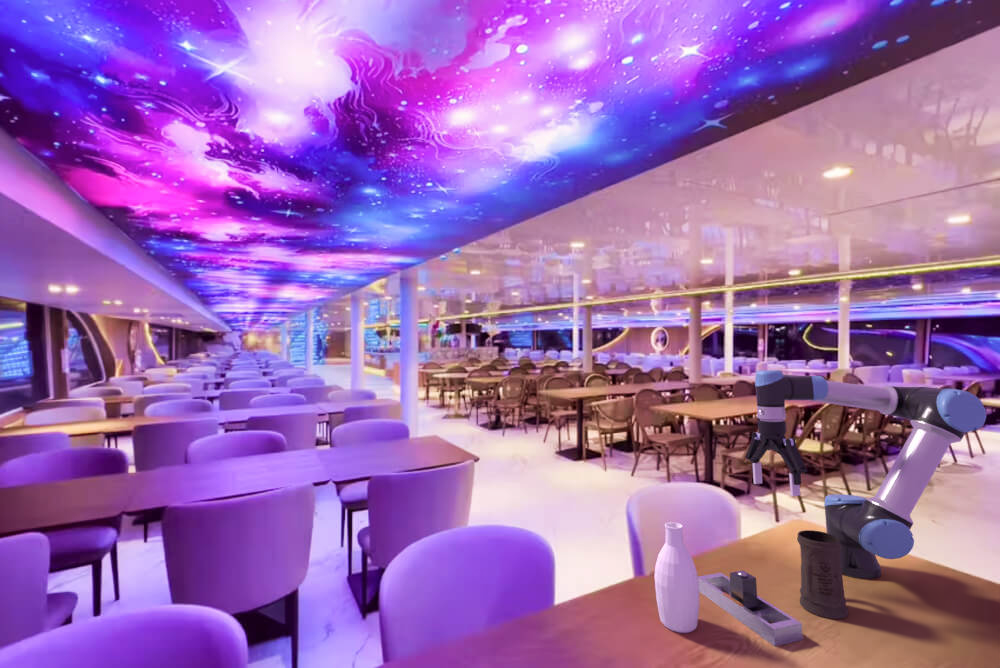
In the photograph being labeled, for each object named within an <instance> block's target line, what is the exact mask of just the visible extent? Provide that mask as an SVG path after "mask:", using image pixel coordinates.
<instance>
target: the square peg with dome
mask: <svg viewBox="0 0 1000 668" xmlns="http://www.w3.org/2000/svg"><path fill="white" fill-rule="evenodd" d="M729 578H730V587H731V597H733V598H734V599H736V600H737V601H739V602H740V603H742V604H743V606H744V607H746V608H747V609H749V610H750V611H752V612H754V611H758V603H757V596H758V590H757V589H758V588H757V587H758V585H757V577H756V576H753V575H752V574H750V573H748V572H746V570H738V571H732V572H729Z"/></svg>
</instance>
